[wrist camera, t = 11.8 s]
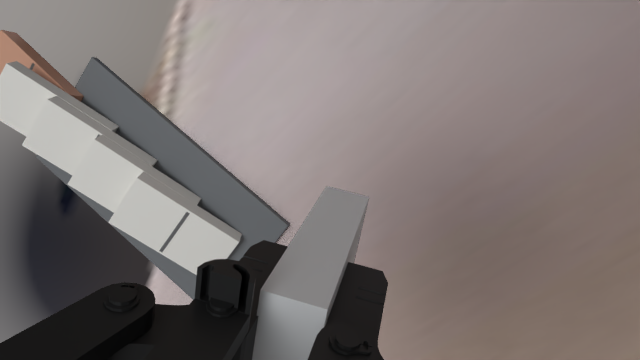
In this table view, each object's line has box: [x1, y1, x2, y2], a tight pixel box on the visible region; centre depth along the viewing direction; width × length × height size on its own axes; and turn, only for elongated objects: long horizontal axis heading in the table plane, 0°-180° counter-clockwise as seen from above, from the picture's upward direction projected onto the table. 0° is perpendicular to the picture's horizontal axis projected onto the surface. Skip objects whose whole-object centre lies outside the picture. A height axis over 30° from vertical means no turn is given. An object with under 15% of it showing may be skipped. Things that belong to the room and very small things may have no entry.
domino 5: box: [108, 172, 242, 275], centre depth 41 cm, size 2×5×10 cm
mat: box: [36, 57, 290, 300], centre depth 44 cm, size 24×12×1 cm, turn 52°
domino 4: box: [68, 134, 201, 213], centre depth 42 cm, size 2×5×10 cm
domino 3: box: [22, 96, 157, 176], centre depth 42 cm, size 2×5×10 cm
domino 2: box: [0, 61, 119, 137], centre depth 42 cm, size 2×5×10 cm
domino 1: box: [0, 30, 84, 102], centre depth 45 cm, size 2×5×10 cm
